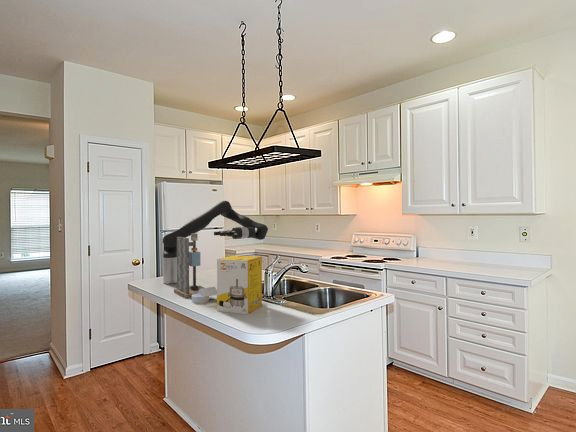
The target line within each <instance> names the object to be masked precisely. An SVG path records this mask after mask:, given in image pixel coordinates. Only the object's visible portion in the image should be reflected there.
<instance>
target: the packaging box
mask: <svg viewBox="0 0 576 432" xmlns="http://www.w3.org/2000/svg"><path fill="white" fill-rule="evenodd" d="M262 258H263V257H262V256H261V255H258V256H256V255H255V256H254V255H237V254H236V255H235V254H234V255H230V256H225V257H221V258H218V259H216V290H217V294H216V296H217V299H216V306H217V307H216V308H217V309H216V310H217V312H224V313H233V314H242V315H249V314H251V313H252V312H253V311H256V310H257V309H258V308H260V307H262V305H263V296H262V295H263V292H262V291H263V284H262V283H263V282H262V281H263V279H262V278H263V277H262V275H263V273H262V272H263V271H262V270H263V268H262V267H263V266H262V265H263V264H262V263H263V260H262Z"/></svg>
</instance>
